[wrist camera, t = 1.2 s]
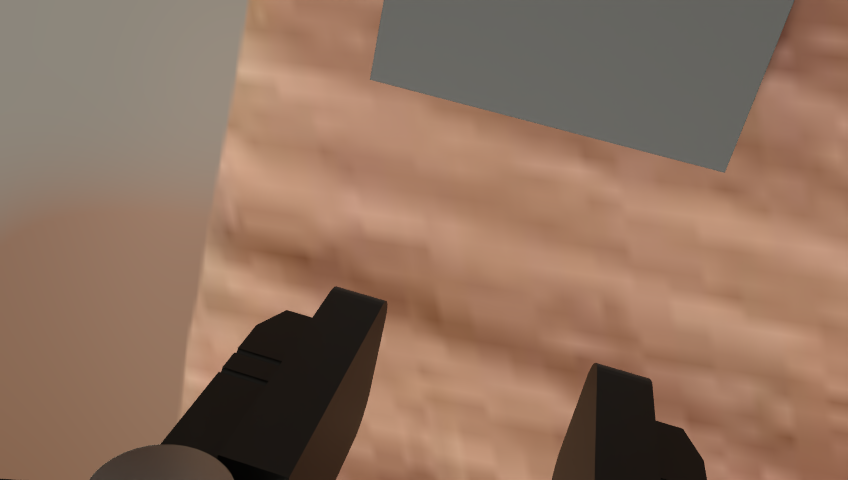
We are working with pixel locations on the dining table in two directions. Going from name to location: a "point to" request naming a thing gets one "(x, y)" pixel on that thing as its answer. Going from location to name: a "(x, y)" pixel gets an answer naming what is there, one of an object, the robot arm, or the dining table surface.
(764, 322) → the dining table surface
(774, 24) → the hole board
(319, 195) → the dining table surface
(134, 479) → the robot arm
